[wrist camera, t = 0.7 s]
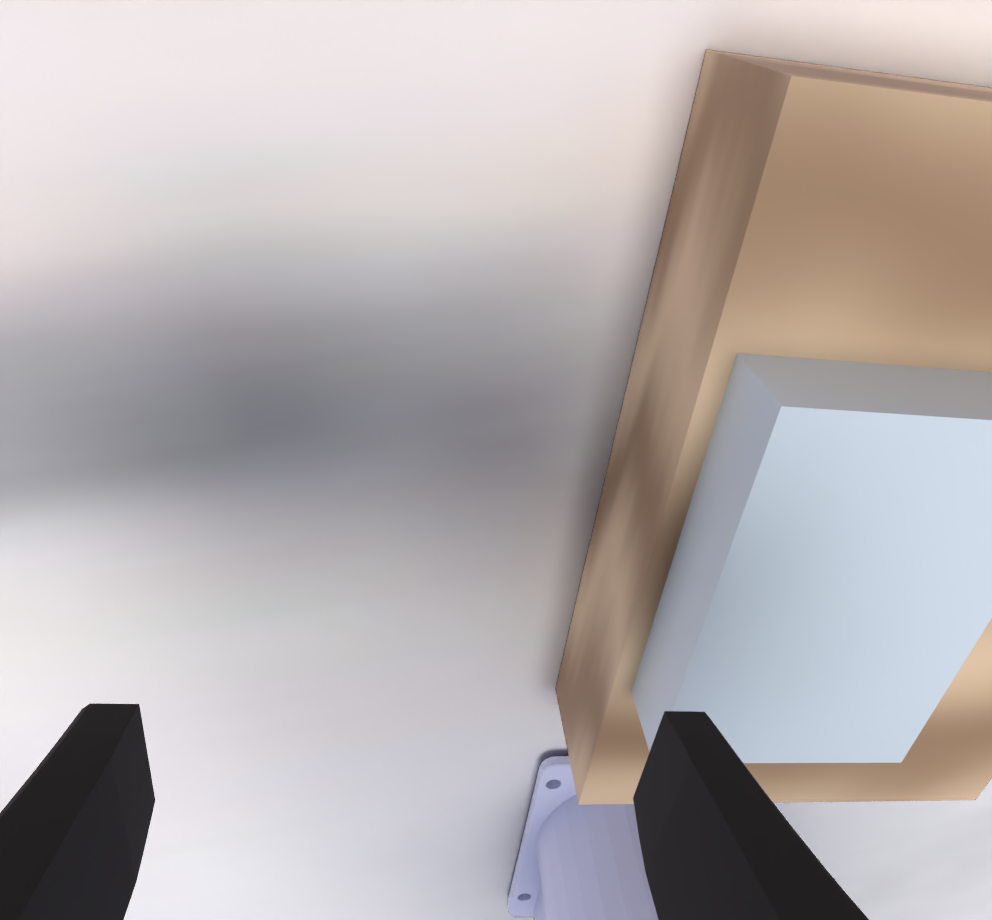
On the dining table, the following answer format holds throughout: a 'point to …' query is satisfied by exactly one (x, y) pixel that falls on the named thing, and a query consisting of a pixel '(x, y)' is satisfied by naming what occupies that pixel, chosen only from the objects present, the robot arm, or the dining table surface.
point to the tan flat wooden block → (789, 333)
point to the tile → (828, 560)
